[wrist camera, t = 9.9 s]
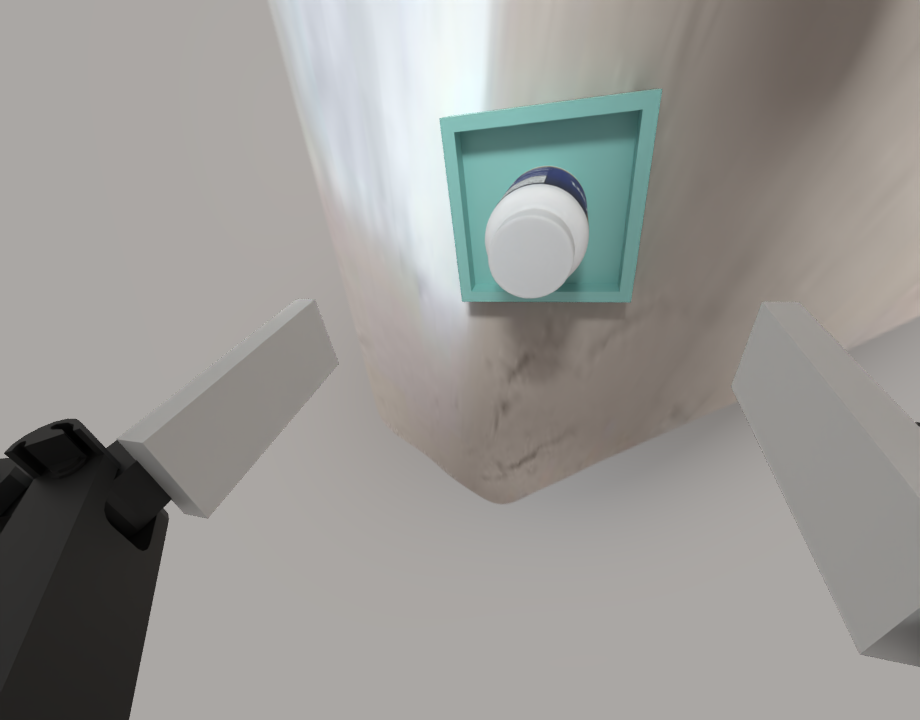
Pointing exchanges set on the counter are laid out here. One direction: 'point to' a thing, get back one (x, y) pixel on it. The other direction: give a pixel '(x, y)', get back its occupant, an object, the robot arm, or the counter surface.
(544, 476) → the counter surface
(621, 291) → the tray
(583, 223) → the pill bottle
